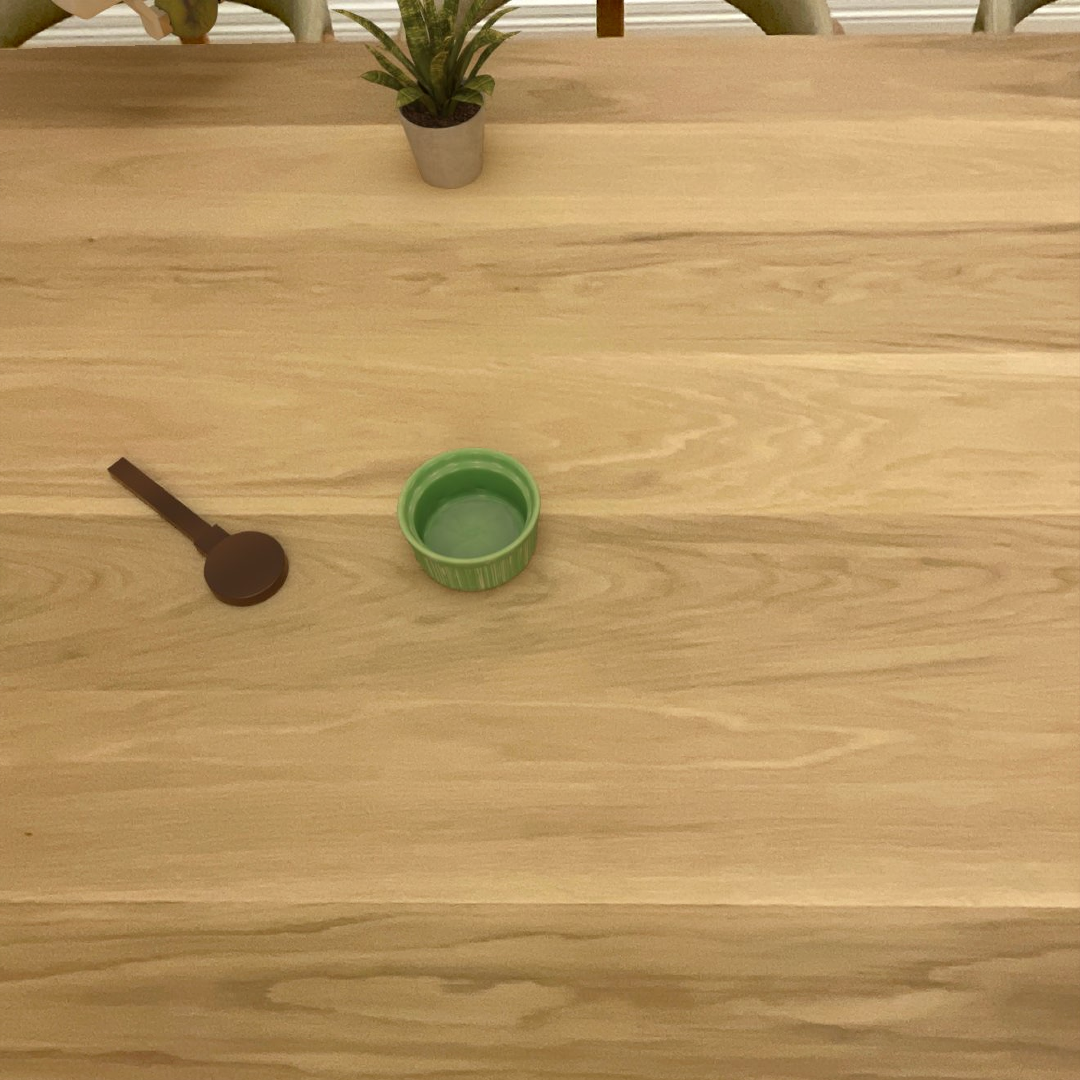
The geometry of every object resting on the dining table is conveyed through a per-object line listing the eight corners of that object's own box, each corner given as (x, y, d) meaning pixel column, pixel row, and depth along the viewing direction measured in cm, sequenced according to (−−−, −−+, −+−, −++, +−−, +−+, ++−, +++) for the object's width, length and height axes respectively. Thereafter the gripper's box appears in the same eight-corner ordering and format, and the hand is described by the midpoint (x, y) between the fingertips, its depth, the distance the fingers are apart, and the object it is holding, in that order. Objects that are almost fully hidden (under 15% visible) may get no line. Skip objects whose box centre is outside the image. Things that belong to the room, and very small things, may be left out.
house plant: (585, 152, 97) (578, -43, 83) (487, 250, 91) (461, 58, 77) (449, 96, 101) (421, -97, 88) (347, 186, 96) (299, -6, 82)
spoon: (88, 493, 79) (82, 484, 79) (148, 446, 82) (143, 437, 81) (244, 621, 74) (240, 612, 73) (305, 567, 76) (301, 558, 75)
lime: (158, 45, 95) (136, -15, 90) (192, 13, 97) (173, -47, 93) (203, 58, 94) (184, -2, 89) (237, 25, 96) (220, -35, 92)
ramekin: (437, 621, 73) (427, 584, 69) (388, 517, 78) (376, 477, 74) (567, 568, 75) (563, 528, 71) (511, 469, 79) (505, 427, 76)
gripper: (216, -238, 88) (262, -53, 99) (-16, -127, 79) (64, 60, 91) (272, -213, 85) (313, -27, 97) (39, -97, 77) (115, 91, 89)
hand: (191, 16), depth 94 cm, fingers closed on lime, 5 cm apart
